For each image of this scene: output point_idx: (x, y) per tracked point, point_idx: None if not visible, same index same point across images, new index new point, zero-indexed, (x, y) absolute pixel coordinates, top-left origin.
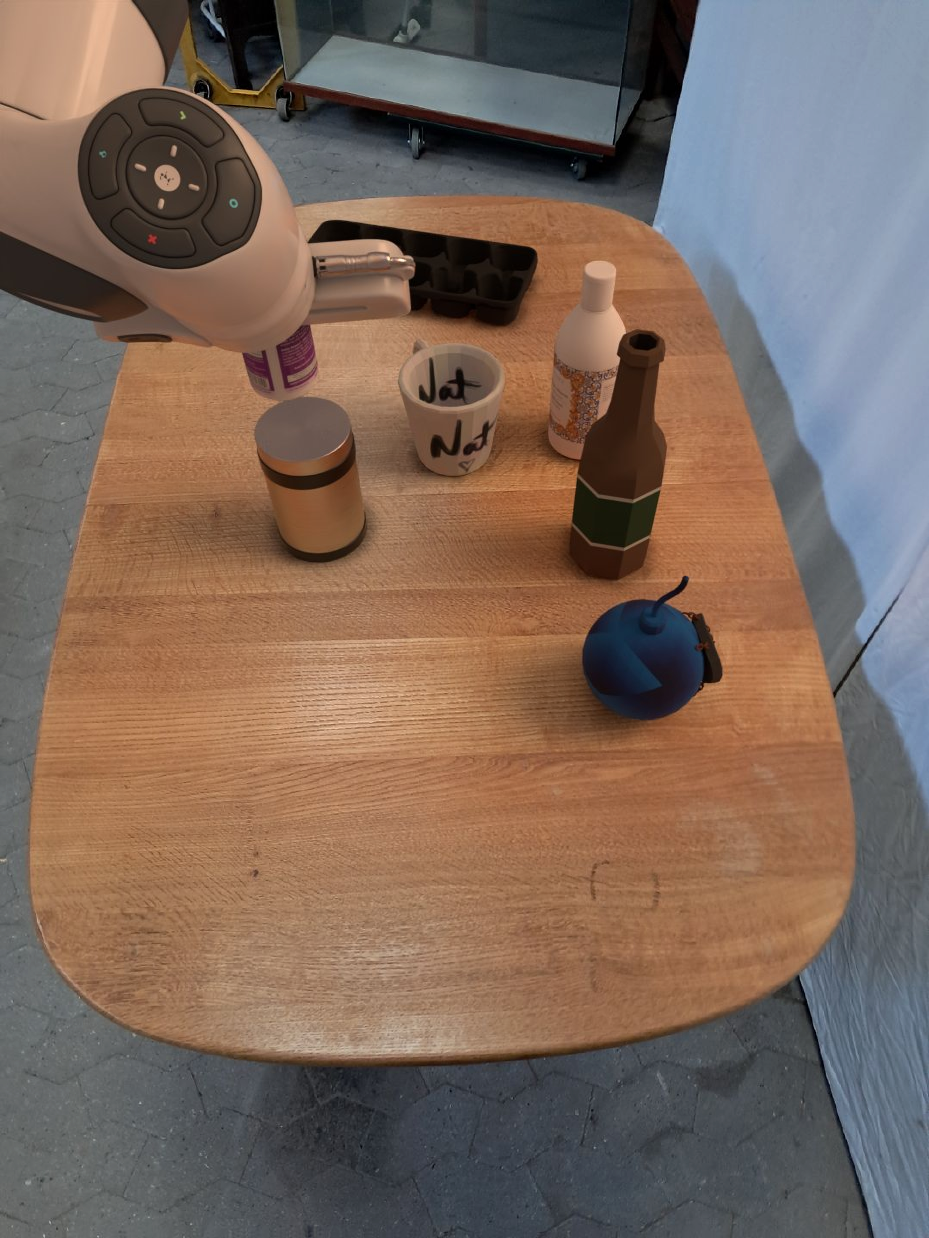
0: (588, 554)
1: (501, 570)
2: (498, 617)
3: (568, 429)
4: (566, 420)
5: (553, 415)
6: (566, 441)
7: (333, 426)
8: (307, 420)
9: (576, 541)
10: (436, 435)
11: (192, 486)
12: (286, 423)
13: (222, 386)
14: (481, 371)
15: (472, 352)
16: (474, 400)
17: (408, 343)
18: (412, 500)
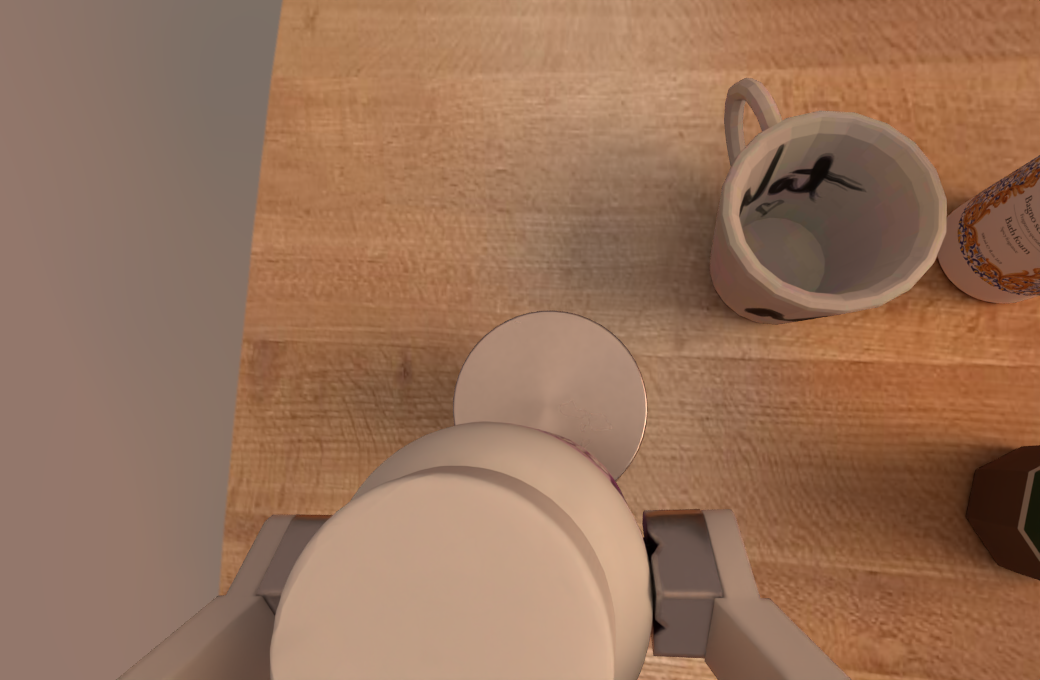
0: (1032, 575)
1: (845, 532)
2: (838, 630)
3: (1010, 278)
4: (1019, 270)
5: (986, 246)
6: (988, 285)
7: (611, 406)
8: (557, 383)
9: (1010, 542)
10: (774, 310)
11: (369, 313)
12: (515, 389)
13: (403, 108)
14: (878, 171)
15: (873, 136)
16: (833, 201)
17: (691, 17)
18: (699, 368)
